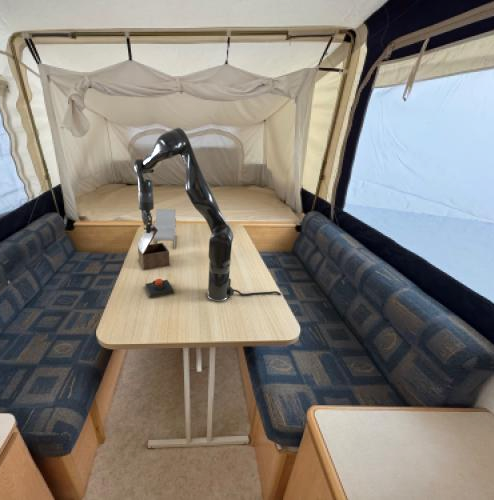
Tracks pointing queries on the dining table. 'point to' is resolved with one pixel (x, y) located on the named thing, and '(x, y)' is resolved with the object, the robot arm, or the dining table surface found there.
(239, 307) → the dining table surface
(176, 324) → the dining table surface
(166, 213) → the chair
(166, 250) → the chest
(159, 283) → the button
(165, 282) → the control block
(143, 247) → the lid
